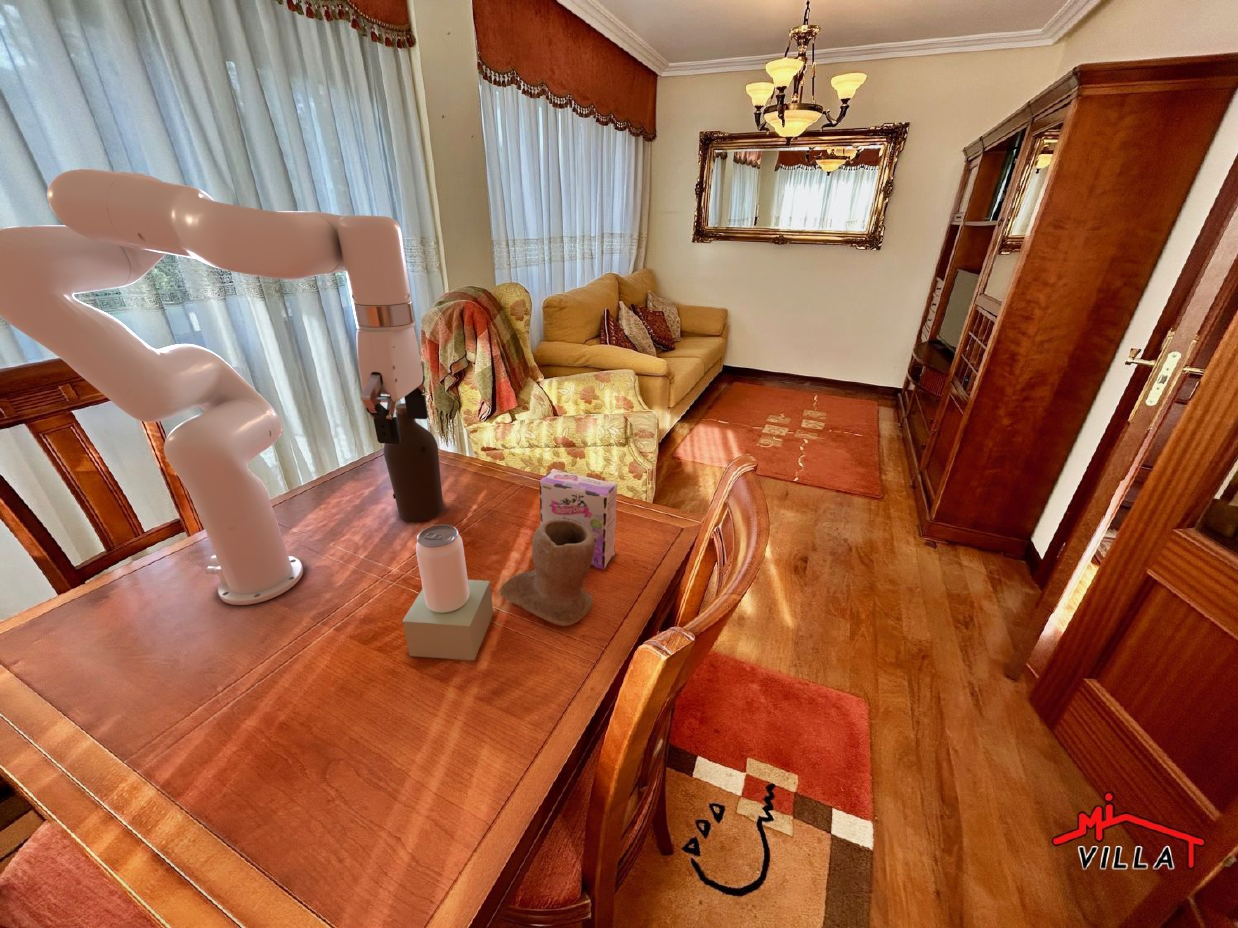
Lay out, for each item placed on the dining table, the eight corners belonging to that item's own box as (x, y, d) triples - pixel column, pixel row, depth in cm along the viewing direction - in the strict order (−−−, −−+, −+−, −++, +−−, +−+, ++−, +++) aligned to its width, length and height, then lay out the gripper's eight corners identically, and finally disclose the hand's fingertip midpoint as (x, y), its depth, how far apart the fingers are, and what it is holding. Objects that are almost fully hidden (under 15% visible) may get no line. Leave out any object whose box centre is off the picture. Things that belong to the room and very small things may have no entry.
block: (409, 656, 76) (401, 621, 73) (435, 609, 85) (429, 576, 81) (474, 660, 75) (469, 625, 72) (493, 613, 84) (489, 580, 81)
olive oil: (454, 501, 116) (440, 399, 105) (432, 526, 107) (414, 417, 95) (411, 496, 117) (393, 395, 106) (386, 521, 108) (363, 412, 97)
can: (457, 617, 73) (447, 551, 68) (417, 610, 74) (404, 544, 69) (477, 589, 79) (469, 525, 74) (439, 582, 80) (429, 519, 75)
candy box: (540, 552, 100) (537, 480, 92) (554, 537, 104) (552, 467, 97) (604, 570, 95) (605, 496, 88) (615, 553, 100) (618, 481, 93)
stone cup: (608, 598, 88) (610, 527, 82) (565, 640, 79) (564, 564, 73) (543, 566, 96) (540, 499, 89) (497, 601, 87) (490, 529, 80)
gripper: (387, 304, 77) (405, 409, 84) (321, 326, 61) (350, 452, 69) (435, 306, 76) (449, 411, 84) (381, 329, 61) (403, 455, 69)
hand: (404, 429), depth 77 cm, fingers open, 9 cm apart
